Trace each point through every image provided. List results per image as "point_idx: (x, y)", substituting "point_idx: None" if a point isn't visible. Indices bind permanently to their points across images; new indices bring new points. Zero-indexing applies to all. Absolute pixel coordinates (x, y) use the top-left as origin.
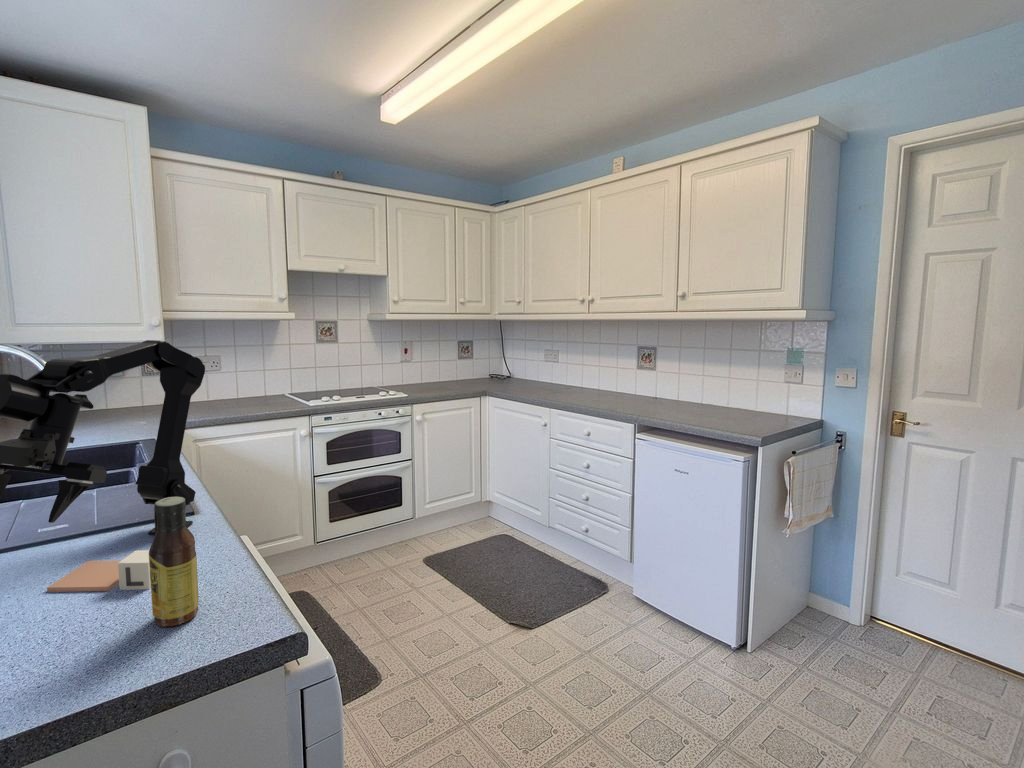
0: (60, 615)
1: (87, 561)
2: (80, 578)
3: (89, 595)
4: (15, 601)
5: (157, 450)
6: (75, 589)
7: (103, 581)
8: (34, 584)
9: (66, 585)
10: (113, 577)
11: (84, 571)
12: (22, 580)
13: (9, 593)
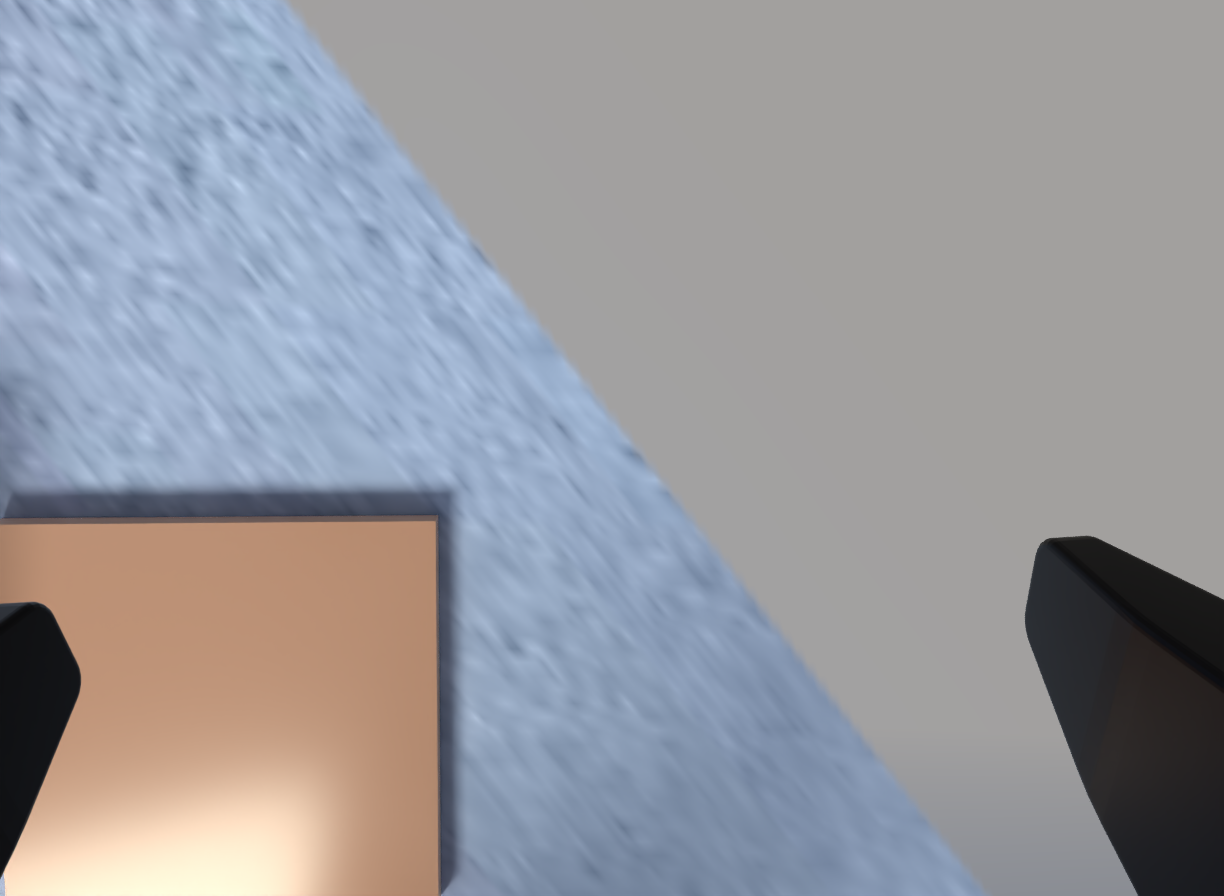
0: (103, 196)
1: None
2: (293, 649)
3: (103, 460)
4: (552, 397)
5: None
6: (237, 517)
7: (80, 602)
8: (604, 618)
9: (316, 546)
10: None
11: (343, 754)
12: (723, 672)
13: (672, 502)
